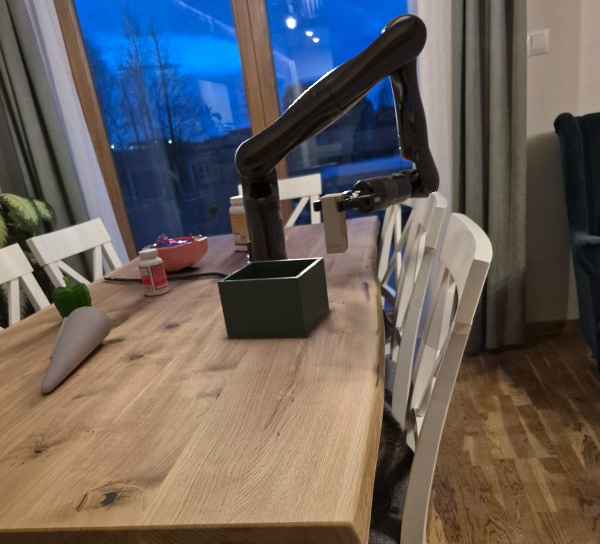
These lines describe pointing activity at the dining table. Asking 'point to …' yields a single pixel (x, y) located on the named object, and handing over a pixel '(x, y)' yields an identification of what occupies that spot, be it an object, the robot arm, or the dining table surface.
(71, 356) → the grey cone
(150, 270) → the pill bottle
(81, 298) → the bell pepper
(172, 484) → the dining table surface
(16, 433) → the dining table surface
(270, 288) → the trash bin
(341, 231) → the cosmetic box
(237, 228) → the supplement tub
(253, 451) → the dining table surface
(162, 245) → the cell model
